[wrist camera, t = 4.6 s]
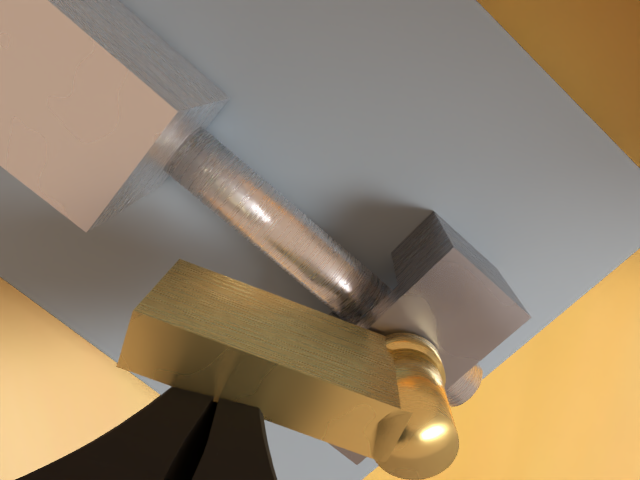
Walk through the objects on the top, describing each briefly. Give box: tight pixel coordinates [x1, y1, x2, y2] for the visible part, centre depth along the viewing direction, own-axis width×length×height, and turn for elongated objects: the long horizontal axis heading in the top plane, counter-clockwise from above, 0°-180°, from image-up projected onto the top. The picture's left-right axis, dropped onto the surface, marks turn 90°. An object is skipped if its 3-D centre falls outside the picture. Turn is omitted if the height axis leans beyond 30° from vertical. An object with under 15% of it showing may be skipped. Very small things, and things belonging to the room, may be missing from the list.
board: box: [0, 0, 640, 480], centre depth 14 cm, size 20×14×1 cm
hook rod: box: [0, 0, 483, 407], centre depth 12 cm, size 14×3×4 cm, turn 49°
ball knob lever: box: [117, 259, 459, 480], centre depth 10 cm, size 2×6×2 cm, turn 69°
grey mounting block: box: [329, 210, 532, 465], centre depth 13 cm, size 2×6×3 cm, turn 139°
